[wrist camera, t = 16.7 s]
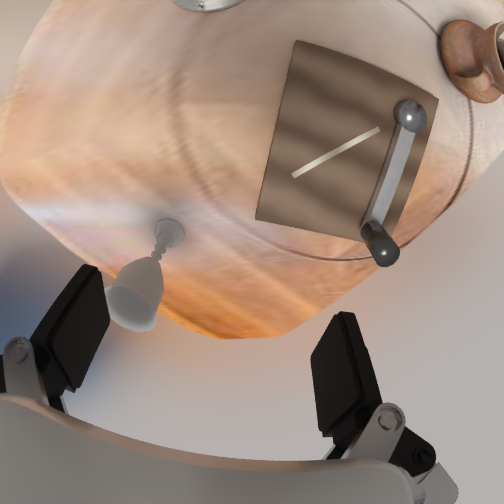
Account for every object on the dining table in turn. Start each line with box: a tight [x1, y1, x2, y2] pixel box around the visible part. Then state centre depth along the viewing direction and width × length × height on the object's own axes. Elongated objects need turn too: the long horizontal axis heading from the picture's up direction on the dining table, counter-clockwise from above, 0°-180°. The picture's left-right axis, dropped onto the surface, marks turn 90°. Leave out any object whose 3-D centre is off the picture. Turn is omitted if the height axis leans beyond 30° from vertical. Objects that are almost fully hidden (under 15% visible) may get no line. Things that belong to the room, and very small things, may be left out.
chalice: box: [104, 219, 184, 332], centre depth 35 cm, size 7×7×18 cm
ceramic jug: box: [440, 20, 504, 103], centre depth 18 cm, size 18×14×14 cm
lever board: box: [255, 40, 439, 243], centre depth 34 cm, size 26×22×2 cm
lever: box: [359, 100, 427, 267], centre depth 30 cm, size 22×4×8 cm, turn 168°
